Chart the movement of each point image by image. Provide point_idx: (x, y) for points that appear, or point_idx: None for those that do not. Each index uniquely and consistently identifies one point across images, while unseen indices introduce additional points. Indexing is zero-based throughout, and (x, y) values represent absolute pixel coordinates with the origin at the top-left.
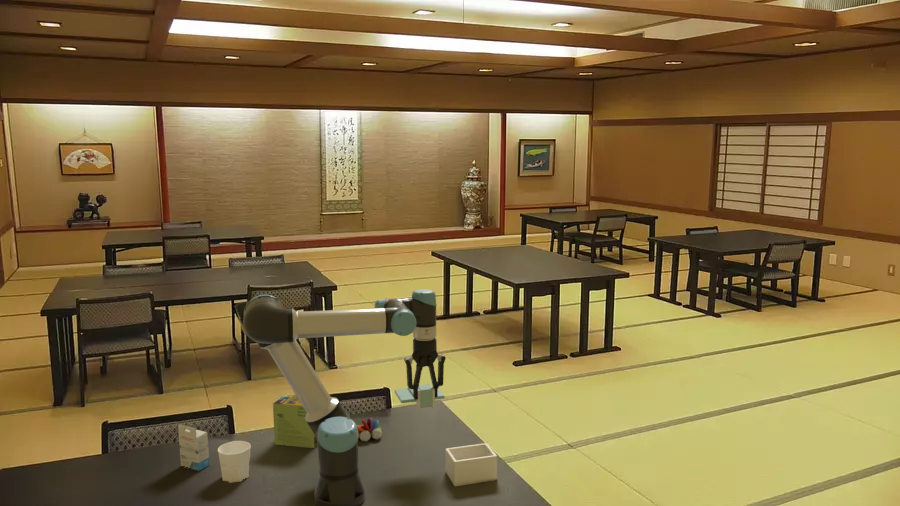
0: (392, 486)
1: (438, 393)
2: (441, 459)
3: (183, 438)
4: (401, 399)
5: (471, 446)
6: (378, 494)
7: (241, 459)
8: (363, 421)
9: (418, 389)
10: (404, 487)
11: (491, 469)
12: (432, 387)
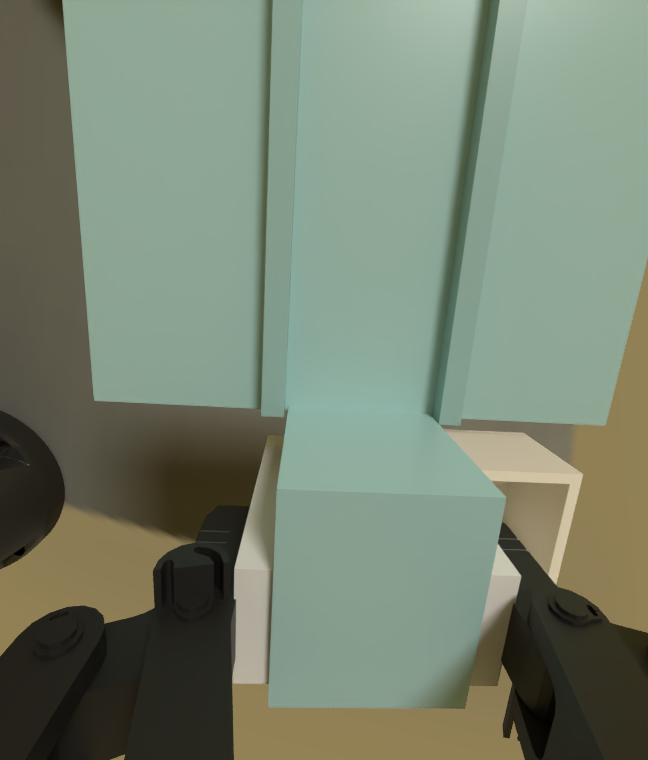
0: (166, 461)
1: (579, 338)
2: None
3: None
4: (99, 370)
5: (507, 480)
6: (111, 495)
7: None
8: None
9: (253, 638)
10: (205, 480)
11: None
12: (497, 622)
